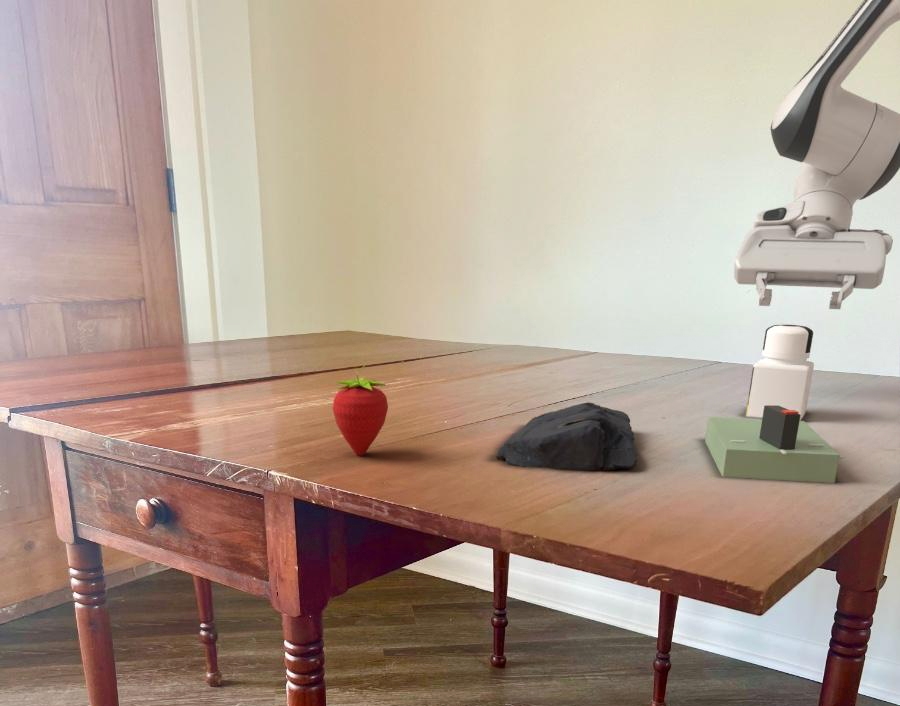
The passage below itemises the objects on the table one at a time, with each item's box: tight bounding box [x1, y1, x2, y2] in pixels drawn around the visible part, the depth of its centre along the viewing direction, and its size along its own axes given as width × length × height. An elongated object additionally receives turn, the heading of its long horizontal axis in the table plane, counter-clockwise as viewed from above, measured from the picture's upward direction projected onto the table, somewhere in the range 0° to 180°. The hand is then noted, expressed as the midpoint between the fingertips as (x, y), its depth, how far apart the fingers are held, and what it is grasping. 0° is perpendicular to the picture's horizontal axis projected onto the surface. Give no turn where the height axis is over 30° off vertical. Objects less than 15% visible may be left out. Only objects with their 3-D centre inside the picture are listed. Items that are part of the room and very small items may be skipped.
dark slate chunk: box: [495, 401, 639, 472], centre depth 99 cm, size 15×22×5 cm
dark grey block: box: [759, 405, 800, 449], centre depth 90 cm, size 5×2×4 cm, turn 5°
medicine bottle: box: [745, 324, 815, 421], centre depth 118 cm, size 7×7×12 cm
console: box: [704, 416, 841, 484], centre depth 95 cm, size 11×18×3 cm, turn 171°
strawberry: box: [332, 363, 389, 457], centre depth 94 cm, size 6×8×10 cm
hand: (799, 304), depth 122 cm, fingers open, 8 cm apart
